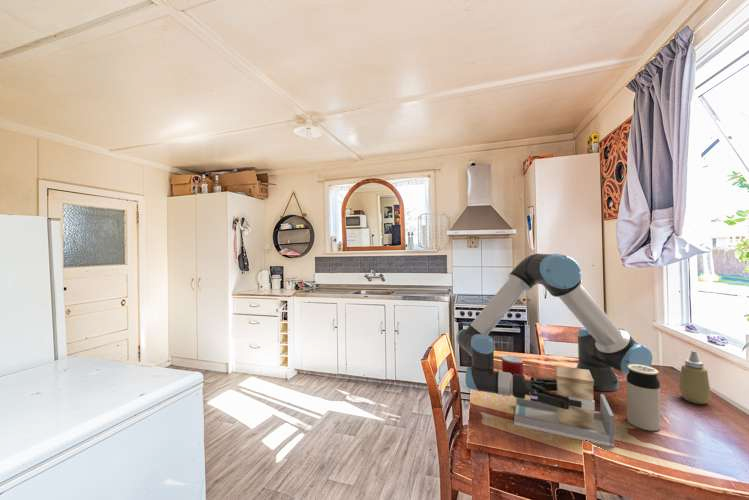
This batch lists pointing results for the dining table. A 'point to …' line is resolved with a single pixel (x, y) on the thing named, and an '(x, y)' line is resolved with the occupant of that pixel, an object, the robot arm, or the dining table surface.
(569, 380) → the wooden block
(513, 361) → the canned food
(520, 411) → the bay
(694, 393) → the squeeze bottle
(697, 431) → the dining table surface
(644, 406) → the travel mug
